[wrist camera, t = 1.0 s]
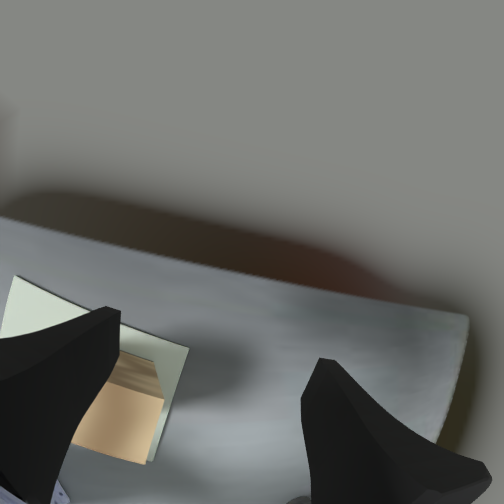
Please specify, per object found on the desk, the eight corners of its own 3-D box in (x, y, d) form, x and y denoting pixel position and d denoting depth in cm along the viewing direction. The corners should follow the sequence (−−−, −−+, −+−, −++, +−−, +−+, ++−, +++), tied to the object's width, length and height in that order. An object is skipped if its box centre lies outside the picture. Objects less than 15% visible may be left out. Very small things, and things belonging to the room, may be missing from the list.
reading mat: (188, 347, 23) (189, 348, 23) (152, 460, 21) (152, 461, 21) (15, 275, 18) (14, 275, 18) (-7, 398, 16) (-8, 399, 15)
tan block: (153, 361, 22) (164, 399, 15) (137, 412, 21) (144, 464, 14) (95, 340, 20) (79, 370, 13) (82, 393, 19) (66, 440, 12)
